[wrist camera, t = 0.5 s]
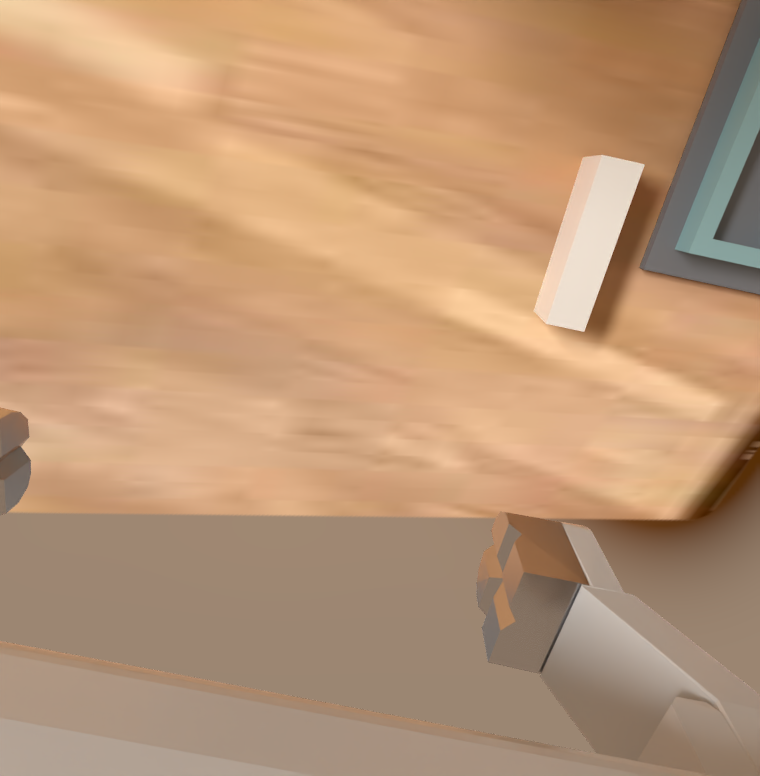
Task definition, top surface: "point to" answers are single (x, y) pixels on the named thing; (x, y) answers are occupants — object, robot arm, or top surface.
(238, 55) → the top surface
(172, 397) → the top surface
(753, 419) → the top surface
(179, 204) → the top surface
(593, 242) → the long cream plank
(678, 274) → the cradle jig
